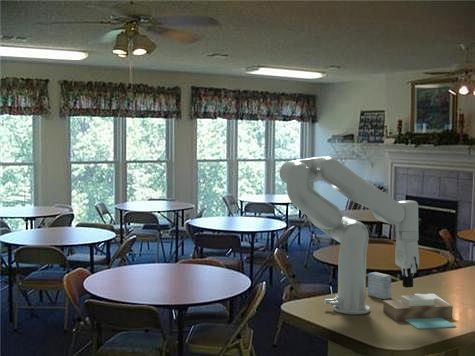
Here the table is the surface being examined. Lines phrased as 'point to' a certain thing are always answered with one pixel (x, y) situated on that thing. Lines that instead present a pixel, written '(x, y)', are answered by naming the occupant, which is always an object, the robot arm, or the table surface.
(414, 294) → the smartphone
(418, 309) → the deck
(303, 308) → the table surface
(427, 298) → the white box
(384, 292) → the medicine box
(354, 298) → the robot arm
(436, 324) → the mat
